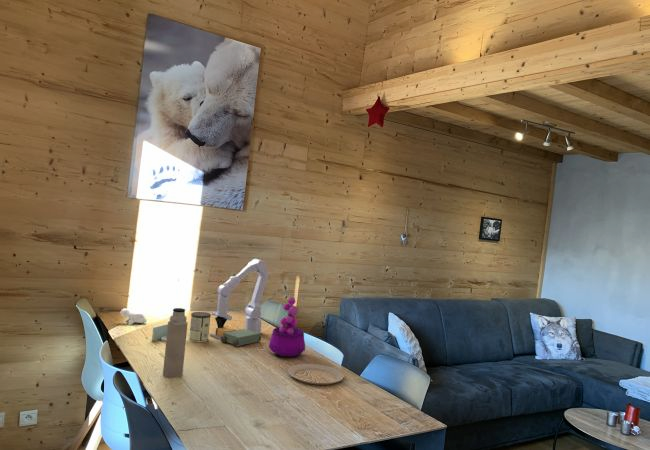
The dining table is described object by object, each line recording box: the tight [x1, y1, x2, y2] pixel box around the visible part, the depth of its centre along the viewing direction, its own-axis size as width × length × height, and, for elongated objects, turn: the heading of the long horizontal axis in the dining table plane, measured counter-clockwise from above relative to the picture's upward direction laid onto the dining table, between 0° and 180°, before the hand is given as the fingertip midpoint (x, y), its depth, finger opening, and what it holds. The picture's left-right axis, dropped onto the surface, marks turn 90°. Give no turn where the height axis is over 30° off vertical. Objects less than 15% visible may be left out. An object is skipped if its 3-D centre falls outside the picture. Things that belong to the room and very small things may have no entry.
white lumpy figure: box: [119, 308, 148, 326], centre depth 279 cm, size 9×8×15 cm
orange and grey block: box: [215, 326, 238, 337], centre depth 270 cm, size 9×8×4 cm
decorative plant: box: [268, 296, 306, 358], centre depth 248 cm, size 19×18×30 cm
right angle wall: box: [151, 323, 168, 343], centre depth 252 cm, size 12×12×8 cm
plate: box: [287, 363, 345, 386], centre depth 219 cm, size 26×26×2 cm
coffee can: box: [188, 311, 212, 343], centre depth 259 cm, size 10×10×14 cm
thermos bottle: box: [162, 307, 189, 379], centre depth 203 cm, size 8×8×28 cm
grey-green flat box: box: [209, 328, 262, 348], centre depth 267 cm, size 18×25×5 cm
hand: (220, 330), depth 273 cm, fingers closed
